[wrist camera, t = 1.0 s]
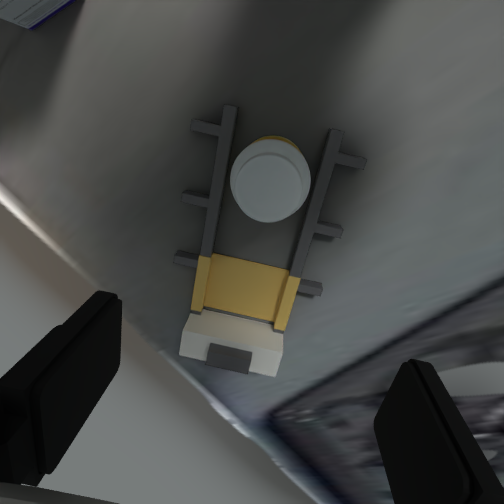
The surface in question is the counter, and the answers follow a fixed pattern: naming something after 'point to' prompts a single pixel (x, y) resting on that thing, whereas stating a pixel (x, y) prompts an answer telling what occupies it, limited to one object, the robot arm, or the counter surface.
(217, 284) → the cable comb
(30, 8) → the supplement box
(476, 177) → the counter surface
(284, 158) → the supplement bottle
